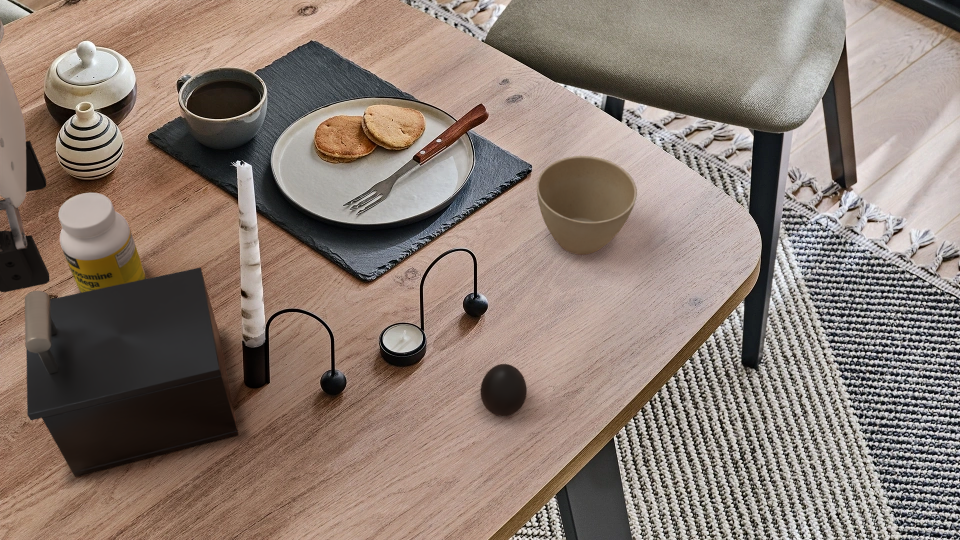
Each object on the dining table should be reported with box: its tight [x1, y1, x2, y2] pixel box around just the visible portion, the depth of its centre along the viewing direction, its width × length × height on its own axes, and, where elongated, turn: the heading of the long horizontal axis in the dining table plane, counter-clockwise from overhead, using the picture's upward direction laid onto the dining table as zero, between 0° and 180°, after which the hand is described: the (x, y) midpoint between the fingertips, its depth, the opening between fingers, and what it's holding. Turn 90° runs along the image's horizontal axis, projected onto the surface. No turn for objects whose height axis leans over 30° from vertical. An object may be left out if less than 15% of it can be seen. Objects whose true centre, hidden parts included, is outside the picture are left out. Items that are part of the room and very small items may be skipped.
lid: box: [24, 267, 221, 421], centre depth 75 cm, size 14×12×5 cm
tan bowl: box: [536, 155, 638, 256], centre depth 97 cm, size 10×10×7 cm
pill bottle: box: [58, 192, 147, 293], centre depth 89 cm, size 6×6×11 cm
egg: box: [480, 363, 528, 417], centre depth 83 cm, size 4×4×5 cm
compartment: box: [41, 276, 240, 478], centre depth 81 cm, size 14×12×9 cm
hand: (25, 235), depth 66 cm, fingers open, 9 cm apart
